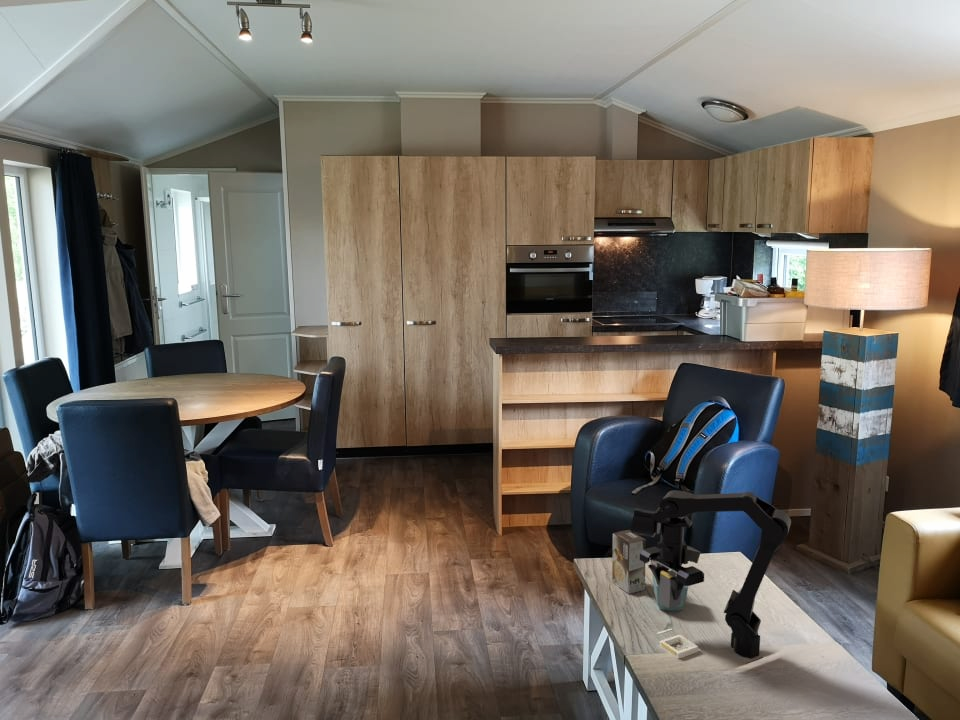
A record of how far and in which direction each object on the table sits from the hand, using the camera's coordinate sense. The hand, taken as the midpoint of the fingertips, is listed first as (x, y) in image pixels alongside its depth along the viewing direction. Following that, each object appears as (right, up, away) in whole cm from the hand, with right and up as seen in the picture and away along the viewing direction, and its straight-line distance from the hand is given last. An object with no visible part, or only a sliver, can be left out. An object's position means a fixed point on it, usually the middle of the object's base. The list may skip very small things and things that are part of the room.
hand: (669, 596), depth 201 cm
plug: (0, -2, 0) cm, 2 cm away
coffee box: (-5, -7, +32) cm, 33 cm away
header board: (0, -12, -3) cm, 13 cm away
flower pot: (+4, -9, +17) cm, 20 cm away
